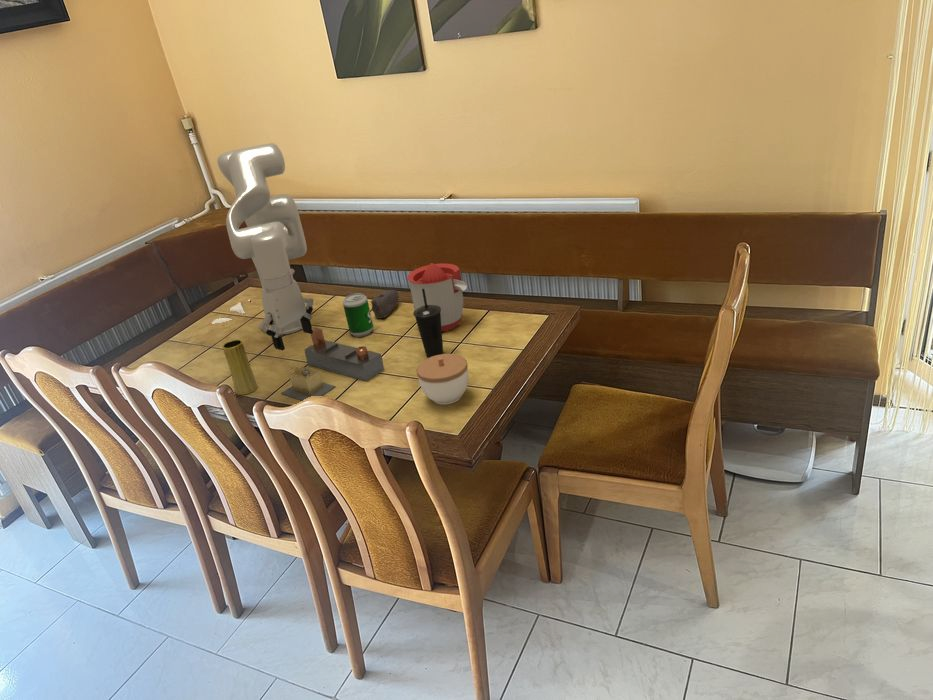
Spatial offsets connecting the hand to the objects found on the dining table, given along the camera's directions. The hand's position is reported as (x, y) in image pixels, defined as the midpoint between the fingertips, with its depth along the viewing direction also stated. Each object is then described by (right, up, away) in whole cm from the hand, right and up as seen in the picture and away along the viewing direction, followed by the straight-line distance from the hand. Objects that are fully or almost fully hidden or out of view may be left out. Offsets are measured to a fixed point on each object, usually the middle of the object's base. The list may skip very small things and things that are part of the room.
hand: (294, 340), depth 188 cm
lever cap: (+2, -13, +6) cm, 15 cm away
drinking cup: (+36, -4, +15) cm, 39 cm away
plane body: (+11, -7, +16) cm, 20 cm away
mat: (+2, -13, +6) cm, 15 cm away
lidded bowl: (+40, -14, -7) cm, 43 cm away
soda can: (+13, +3, +36) cm, 38 cm away
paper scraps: (-37, +9, +65) cm, 75 cm away
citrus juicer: (+38, +5, +32) cm, 50 cm away
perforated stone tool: (+19, +10, +48) cm, 52 cm away
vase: (-16, -14, +12) cm, 24 cm away
